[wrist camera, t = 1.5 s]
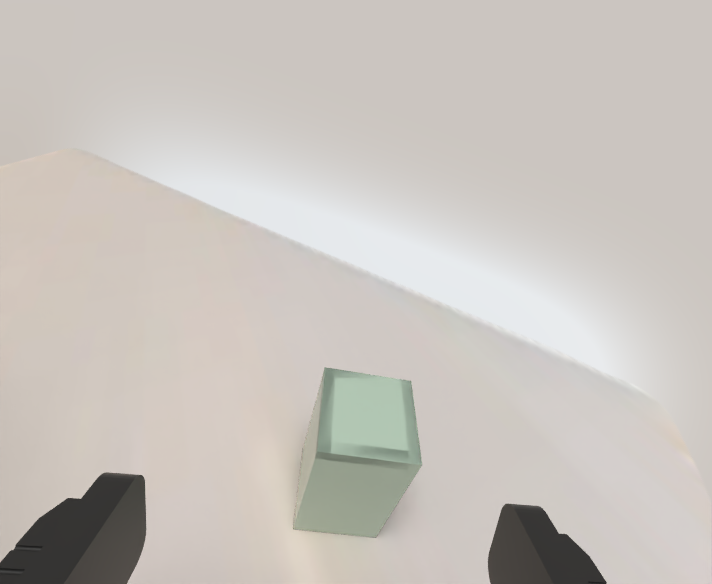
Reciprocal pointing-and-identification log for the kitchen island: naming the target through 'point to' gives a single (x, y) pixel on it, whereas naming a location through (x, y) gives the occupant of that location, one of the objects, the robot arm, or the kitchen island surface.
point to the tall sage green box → (357, 454)
